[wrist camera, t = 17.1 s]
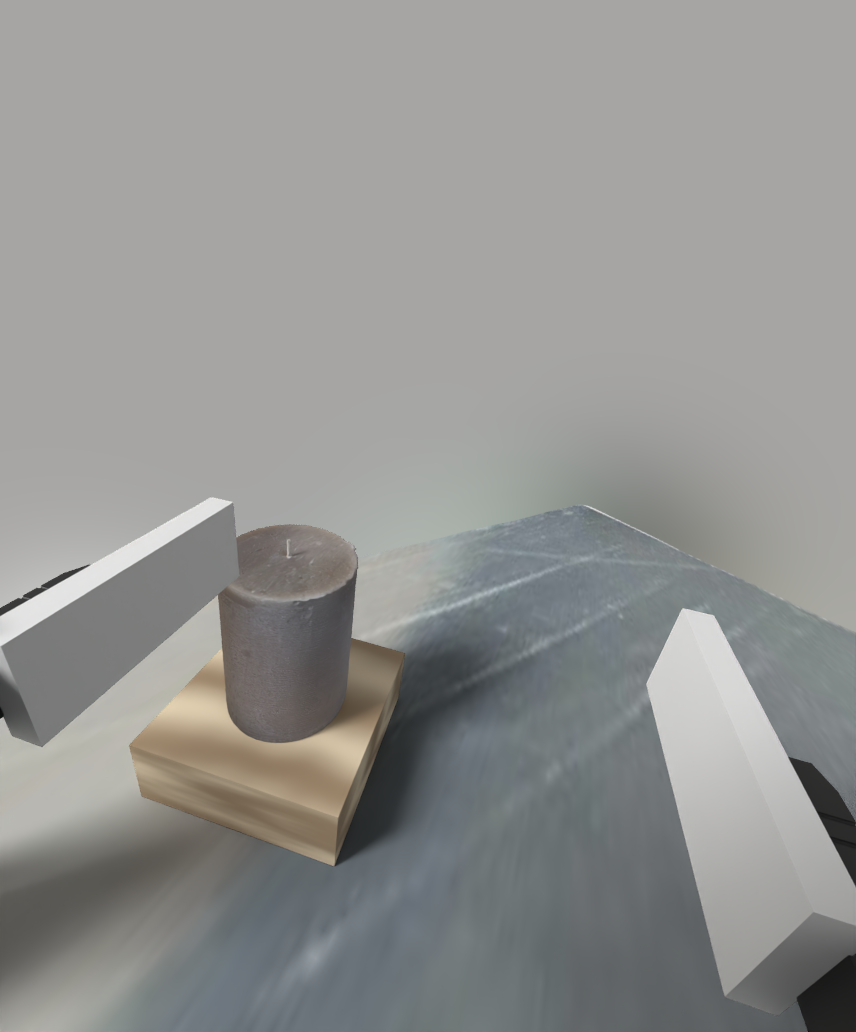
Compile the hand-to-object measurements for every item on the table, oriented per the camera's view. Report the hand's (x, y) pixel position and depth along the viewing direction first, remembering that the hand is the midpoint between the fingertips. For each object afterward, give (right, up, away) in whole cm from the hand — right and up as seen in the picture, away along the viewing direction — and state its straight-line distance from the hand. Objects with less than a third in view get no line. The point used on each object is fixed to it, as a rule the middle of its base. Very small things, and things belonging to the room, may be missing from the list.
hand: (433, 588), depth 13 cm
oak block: (-13, -18, +27) cm, 35 cm away
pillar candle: (-12, -13, +25) cm, 30 cm away
